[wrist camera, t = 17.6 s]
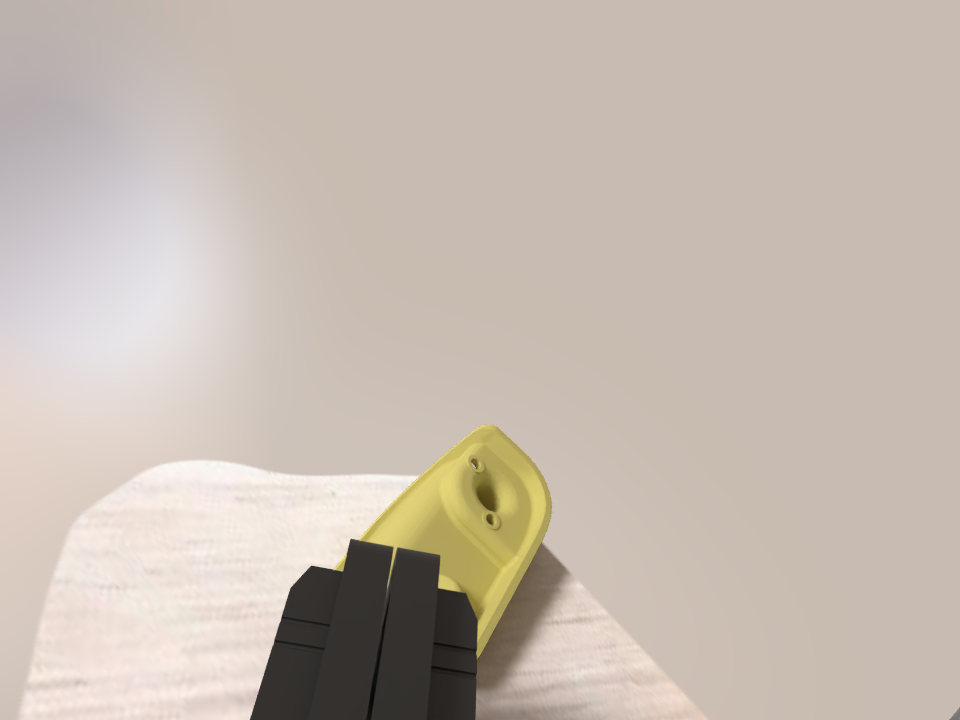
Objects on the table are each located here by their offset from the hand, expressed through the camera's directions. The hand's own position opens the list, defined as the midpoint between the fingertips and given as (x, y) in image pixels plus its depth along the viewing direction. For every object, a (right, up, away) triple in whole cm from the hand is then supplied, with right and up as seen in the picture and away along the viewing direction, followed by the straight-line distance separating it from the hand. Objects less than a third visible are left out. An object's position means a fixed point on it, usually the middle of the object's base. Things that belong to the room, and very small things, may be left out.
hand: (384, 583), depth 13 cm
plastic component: (-1, -12, +45) cm, 46 cm away
